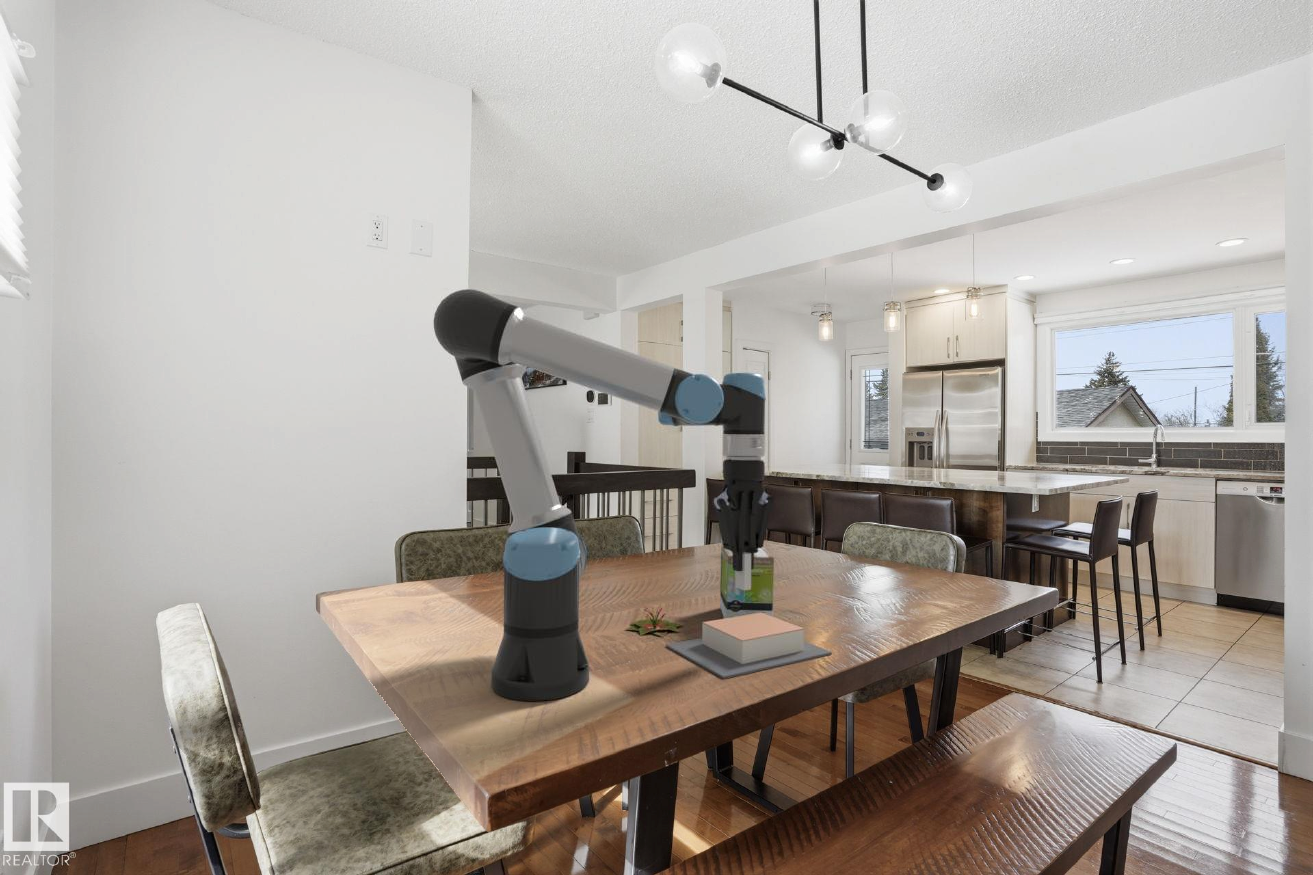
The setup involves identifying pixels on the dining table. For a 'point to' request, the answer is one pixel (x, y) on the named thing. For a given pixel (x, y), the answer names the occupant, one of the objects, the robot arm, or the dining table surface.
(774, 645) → the cream rectangular block
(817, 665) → the dining table surface
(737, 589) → the tea box
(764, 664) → the mat
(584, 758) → the dining table surface
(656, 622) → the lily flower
